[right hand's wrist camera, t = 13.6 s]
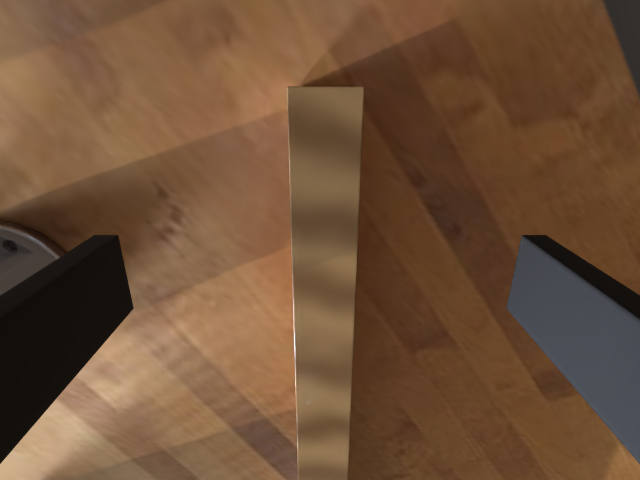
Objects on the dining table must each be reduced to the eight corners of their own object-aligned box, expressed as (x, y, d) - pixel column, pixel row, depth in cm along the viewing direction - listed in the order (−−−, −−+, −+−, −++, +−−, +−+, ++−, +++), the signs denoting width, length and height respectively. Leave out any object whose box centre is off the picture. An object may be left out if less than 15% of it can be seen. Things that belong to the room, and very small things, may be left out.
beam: (295, 87, 33) (286, 86, 25) (354, 87, 33) (364, 86, 25) (305, 578, 60) (303, 652, 52) (338, 579, 60) (340, 652, 52)
